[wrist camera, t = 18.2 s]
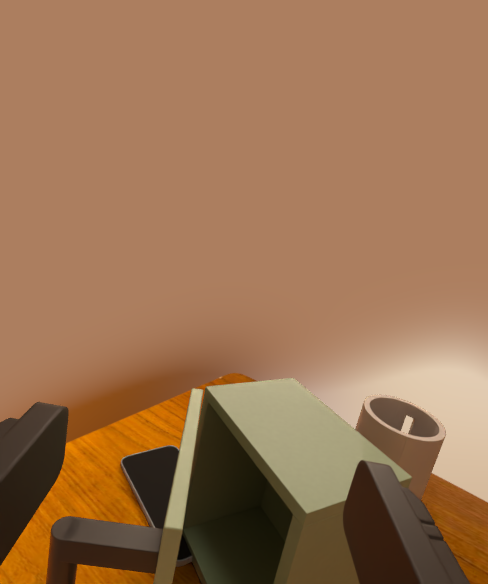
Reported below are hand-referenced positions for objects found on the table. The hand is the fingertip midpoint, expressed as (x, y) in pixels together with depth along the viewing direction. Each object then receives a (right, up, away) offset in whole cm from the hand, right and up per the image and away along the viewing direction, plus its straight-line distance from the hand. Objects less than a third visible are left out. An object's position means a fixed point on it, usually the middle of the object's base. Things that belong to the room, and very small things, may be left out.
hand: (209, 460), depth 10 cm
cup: (+17, -21, +37) cm, 46 cm away
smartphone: (-7, -18, +32) cm, 37 cm away
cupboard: (+2, -21, +24) cm, 33 cm away
